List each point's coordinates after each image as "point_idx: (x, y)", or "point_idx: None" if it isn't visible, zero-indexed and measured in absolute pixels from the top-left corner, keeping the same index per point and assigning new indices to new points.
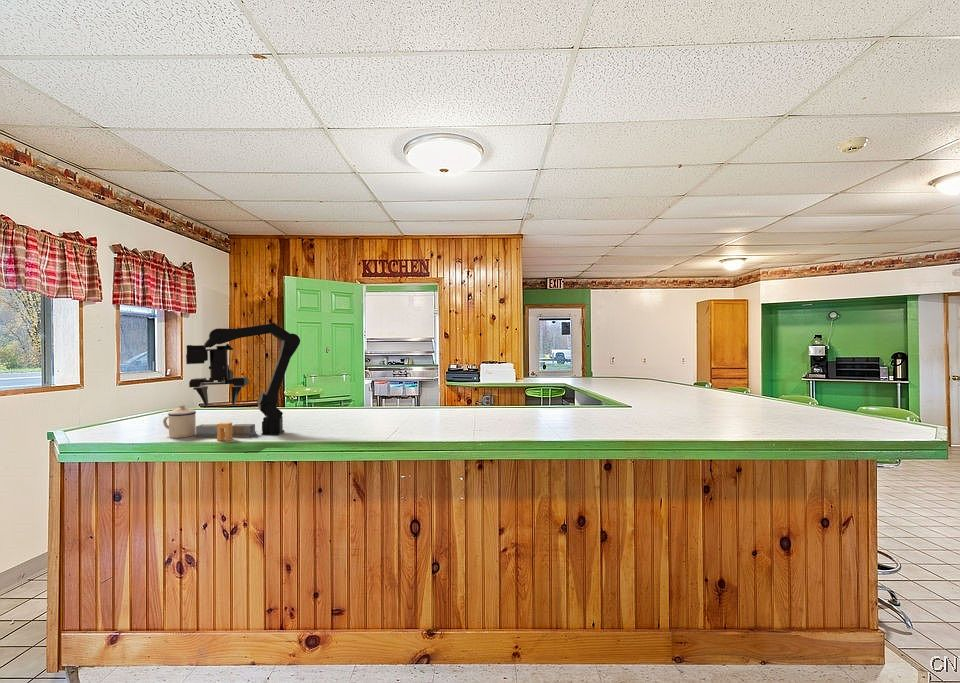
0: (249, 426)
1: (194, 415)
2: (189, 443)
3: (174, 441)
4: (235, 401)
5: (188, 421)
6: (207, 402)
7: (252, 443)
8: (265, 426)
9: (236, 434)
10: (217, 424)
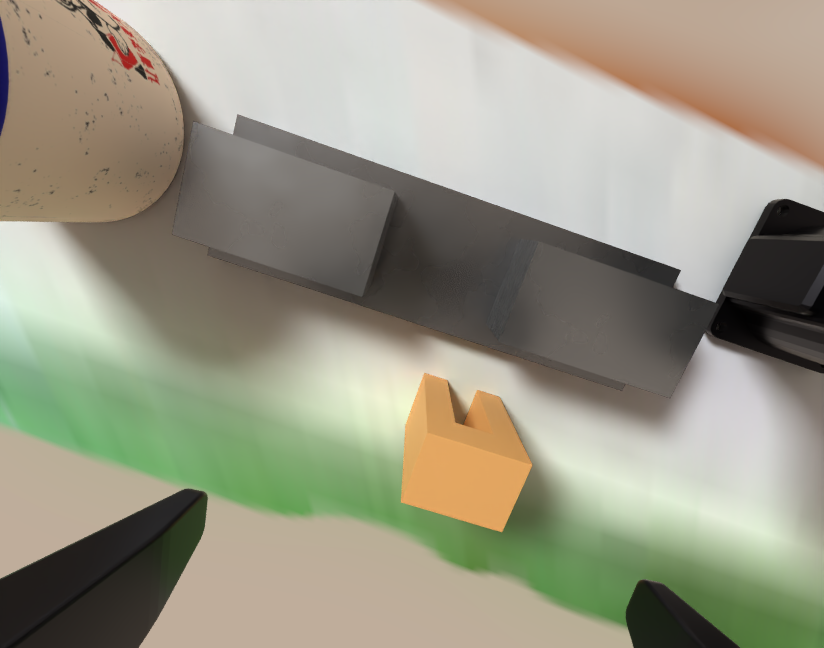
0: (659, 393)
1: (29, 82)
2: (243, 445)
3: (117, 343)
4: (715, 645)
5: (50, 192)
6: (169, 556)
7: (624, 572)
8: (789, 329)
9: (529, 352)
10: (405, 500)
